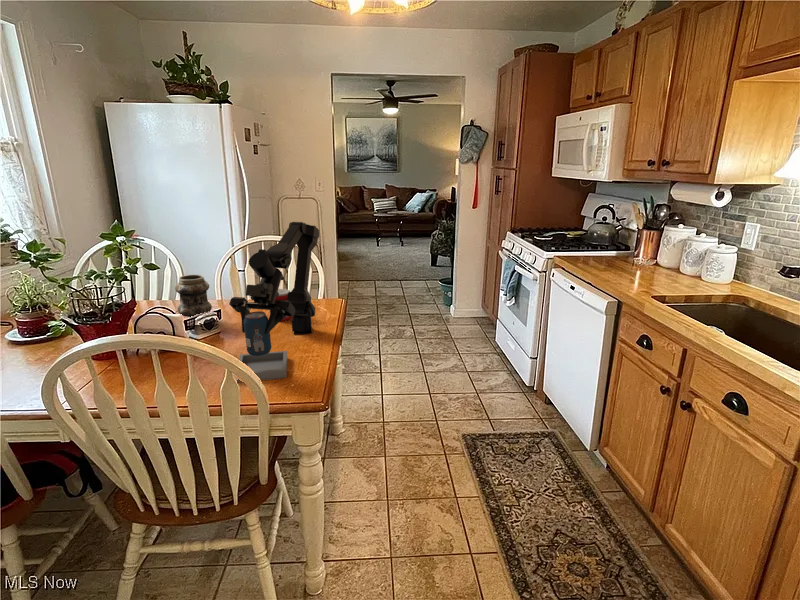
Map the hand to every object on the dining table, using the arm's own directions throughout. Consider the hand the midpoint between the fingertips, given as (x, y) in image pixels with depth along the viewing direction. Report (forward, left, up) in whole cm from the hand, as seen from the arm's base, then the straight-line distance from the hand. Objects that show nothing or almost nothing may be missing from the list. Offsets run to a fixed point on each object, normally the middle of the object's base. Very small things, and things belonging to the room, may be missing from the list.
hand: (254, 332), depth 131 cm
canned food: (-5, -47, -12) cm, 49 cm away
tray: (-1, -1, -12) cm, 12 cm away
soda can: (-1, -1, -7) cm, 7 cm away
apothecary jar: (+27, -49, -12) cm, 57 cm away
